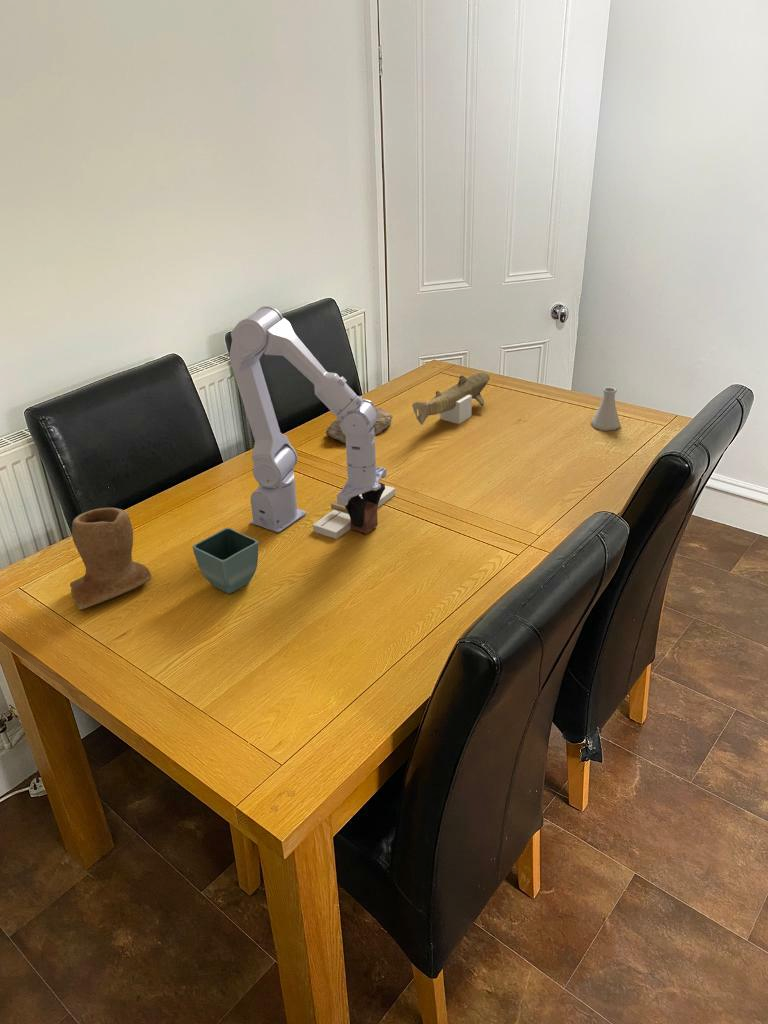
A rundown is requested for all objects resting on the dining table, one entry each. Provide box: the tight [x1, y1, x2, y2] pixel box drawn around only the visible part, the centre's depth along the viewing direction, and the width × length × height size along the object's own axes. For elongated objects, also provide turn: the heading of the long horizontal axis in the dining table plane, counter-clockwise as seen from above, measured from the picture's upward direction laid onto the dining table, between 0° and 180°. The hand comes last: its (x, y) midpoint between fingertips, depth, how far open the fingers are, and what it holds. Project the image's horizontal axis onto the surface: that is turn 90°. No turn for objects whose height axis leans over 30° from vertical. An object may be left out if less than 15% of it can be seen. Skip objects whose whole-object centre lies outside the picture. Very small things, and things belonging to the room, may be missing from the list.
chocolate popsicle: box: [330, 500, 379, 535], centre depth 168 cm, size 4×10×5 cm, turn 56°
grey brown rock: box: [325, 407, 393, 445], centre depth 209 cm, size 14×5×20 cm
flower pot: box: [191, 527, 259, 594], centre depth 149 cm, size 9×9×9 cm
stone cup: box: [69, 507, 152, 611], centre depth 148 cm, size 15×12×15 cm
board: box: [312, 484, 396, 540], centre depth 173 cm, size 22×6×2 cm, turn 146°
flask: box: [590, 386, 621, 432], centre depth 207 cm, size 7×7×10 cm
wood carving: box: [412, 372, 491, 426], centre depth 212 cm, size 9×35×11 cm, turn 143°
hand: (364, 520), depth 167 cm, fingers closed on chocolate popsicle, 4 cm apart
